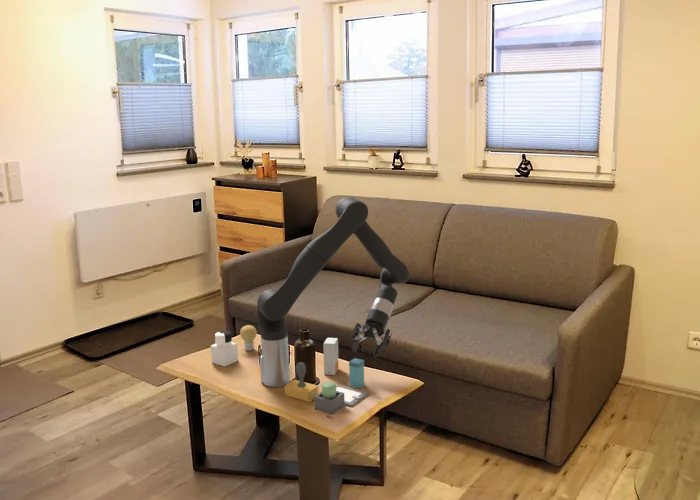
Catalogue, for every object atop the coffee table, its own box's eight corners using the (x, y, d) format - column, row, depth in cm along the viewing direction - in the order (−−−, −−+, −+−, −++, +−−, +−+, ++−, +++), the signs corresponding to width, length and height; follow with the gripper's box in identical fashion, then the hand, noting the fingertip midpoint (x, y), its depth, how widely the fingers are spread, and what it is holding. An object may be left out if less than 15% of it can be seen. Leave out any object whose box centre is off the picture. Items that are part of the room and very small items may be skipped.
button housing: (314, 409, 211) (314, 396, 210) (326, 400, 217) (326, 388, 216) (332, 414, 208) (332, 401, 206) (344, 405, 213) (344, 392, 212)
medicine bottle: (225, 356, 254) (223, 327, 252) (238, 360, 250) (236, 331, 247) (211, 363, 249) (209, 333, 246) (224, 367, 245) (222, 337, 242)
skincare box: (335, 375, 236) (334, 344, 233) (323, 374, 237) (322, 343, 234) (339, 368, 242) (338, 337, 239) (327, 367, 243) (326, 337, 240)
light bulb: (260, 349, 261) (259, 325, 259) (248, 353, 257) (246, 329, 254) (250, 345, 265) (249, 321, 263) (238, 349, 261) (236, 326, 259)
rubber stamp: (318, 395, 221) (317, 362, 218) (309, 402, 216) (307, 368, 213) (294, 389, 226) (293, 356, 223) (284, 395, 221) (283, 362, 218)
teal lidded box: (349, 385, 227) (349, 361, 225) (355, 381, 230) (354, 358, 228) (358, 388, 225) (358, 364, 223) (364, 384, 229) (364, 360, 226)
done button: (319, 397, 211) (318, 386, 210) (327, 392, 214) (327, 381, 213) (331, 401, 208) (330, 389, 207) (339, 395, 212) (338, 384, 211)
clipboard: (321, 398, 219) (321, 395, 218) (337, 386, 227) (337, 384, 227) (351, 406, 212) (351, 404, 212) (367, 394, 221) (367, 391, 220)
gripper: (359, 305, 237) (342, 345, 231) (393, 311, 230) (377, 353, 223) (366, 314, 243) (351, 354, 236) (400, 321, 236) (385, 362, 229)
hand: (364, 353), depth 230 cm, fingers open, 8 cm apart
